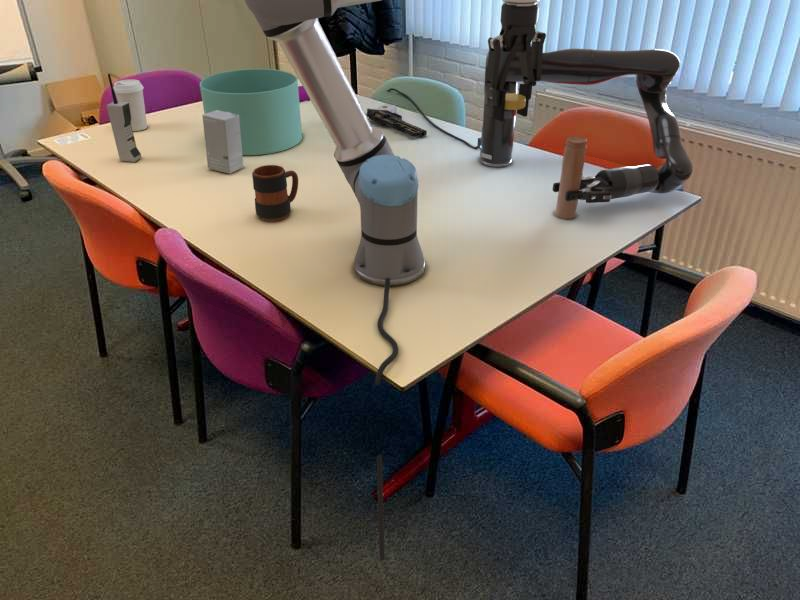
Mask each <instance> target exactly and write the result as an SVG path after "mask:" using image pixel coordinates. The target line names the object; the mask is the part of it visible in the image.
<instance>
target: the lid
mask: <svg viewBox="0 0 800 600" xmlns="http://www.w3.org/2000/svg"><path fill="white" fill-rule="evenodd" d="M525 105H526V97H525V96H523V95H520V94H519V93H518V94H513V93H508V94H506V98H505V109H508V110H516V111H517V110H518V109H522V108H524V107H525Z"/></svg>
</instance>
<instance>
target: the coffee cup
mask: <svg viewBox="0 0 800 600" xmlns="http://www.w3.org/2000/svg"><path fill="white" fill-rule="evenodd" d="M113 89H114V91H115V95H116V99H117V102H129V105H130V112H131V126H132V130H133V132H140V131H143V130H145V129H147V128H148V122H147V120H148V119H147V115H146V107H145V98H144V91H143V90H144V89H145V88H144V85H143V84H142V83H141V81H140V80H138V79H122V80H118V81H115V82H114V83H113Z"/></svg>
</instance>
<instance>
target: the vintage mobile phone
mask: <svg viewBox="0 0 800 600" xmlns="http://www.w3.org/2000/svg"><path fill="white" fill-rule="evenodd" d="M107 78H108V82H109V85H110V90H111V92H110V93H111V96H112V100H113V101H112V102H110V103H108V104H106V109H107V115H108V118H109V122H110V125H111V130H112V134H113V139H114V141H115V142H114V143H115V145H116V151H117V153H118V154H117V155H118V158H119V161H121V162H131V163H135V162H138V160H140V159H142V153H141V151H139V149H138V148H137V147H138V146H137V143H136V139H135V134H134V131H133V130H132V126H131V112H130V105H129V102H118V100H117V97H116V94H115V91H114V89H113V87H114V84H113V81H112V76H111V73H107Z"/></svg>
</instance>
